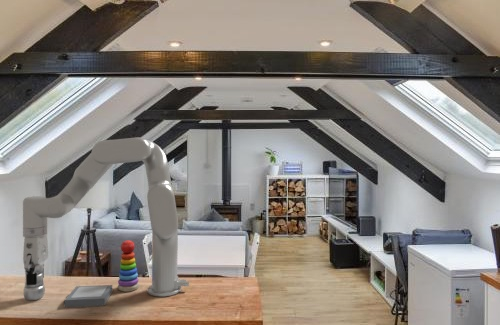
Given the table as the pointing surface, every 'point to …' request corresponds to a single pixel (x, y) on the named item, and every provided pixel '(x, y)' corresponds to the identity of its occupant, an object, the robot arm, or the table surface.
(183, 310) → the table surface
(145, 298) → the table surface
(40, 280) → the metal water bottle
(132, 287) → the stacking toy
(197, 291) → the table surface
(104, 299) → the slate pedestal
